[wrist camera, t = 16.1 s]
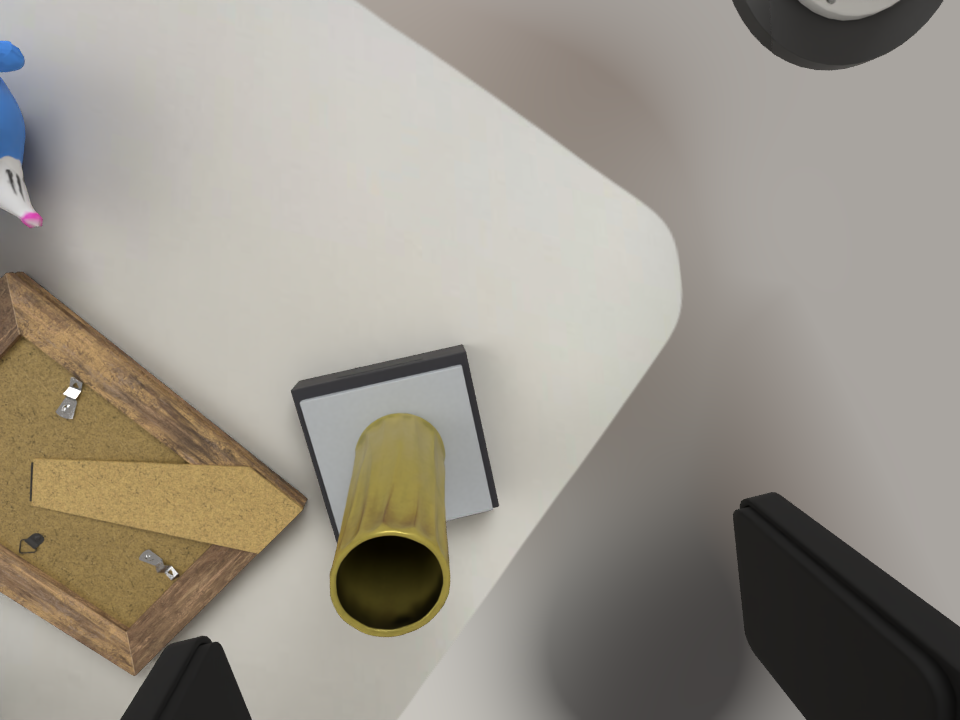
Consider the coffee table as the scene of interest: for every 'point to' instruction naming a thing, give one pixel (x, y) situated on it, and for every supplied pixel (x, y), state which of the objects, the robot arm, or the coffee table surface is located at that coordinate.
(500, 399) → the coffee table surface
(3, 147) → the blue mole toy
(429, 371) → the scale
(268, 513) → the picture frame
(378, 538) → the vase
